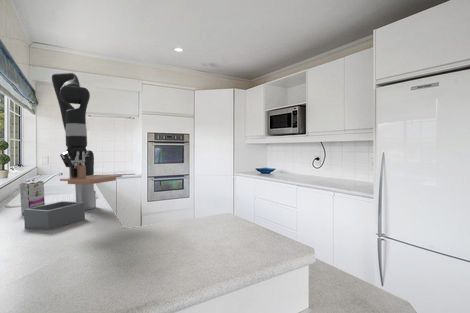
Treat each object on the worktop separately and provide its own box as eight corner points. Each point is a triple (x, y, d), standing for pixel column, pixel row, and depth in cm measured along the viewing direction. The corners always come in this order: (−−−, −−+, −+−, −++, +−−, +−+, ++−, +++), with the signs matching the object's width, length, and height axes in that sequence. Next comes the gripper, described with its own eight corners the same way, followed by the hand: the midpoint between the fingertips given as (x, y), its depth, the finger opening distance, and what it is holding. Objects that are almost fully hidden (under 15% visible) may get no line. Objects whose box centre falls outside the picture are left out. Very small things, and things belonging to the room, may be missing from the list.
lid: (96, 179, 127) (96, 163, 126) (122, 179, 122) (121, 163, 122) (60, 184, 109) (59, 165, 108) (88, 185, 104) (87, 165, 104)
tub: (63, 217, 131) (62, 201, 130) (84, 218, 126) (84, 202, 126) (24, 227, 113) (23, 209, 113) (48, 230, 109) (47, 211, 109)
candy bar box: (36, 209, 151) (35, 180, 150) (45, 209, 150) (44, 180, 150) (20, 213, 139) (19, 183, 139) (29, 213, 139) (28, 183, 139)
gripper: (83, 136, 115) (84, 175, 116) (53, 134, 102) (54, 179, 103) (97, 135, 113) (98, 175, 114) (68, 134, 100) (69, 179, 100)
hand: (77, 177), depth 108 cm, fingers closed on lid, 2 cm apart
